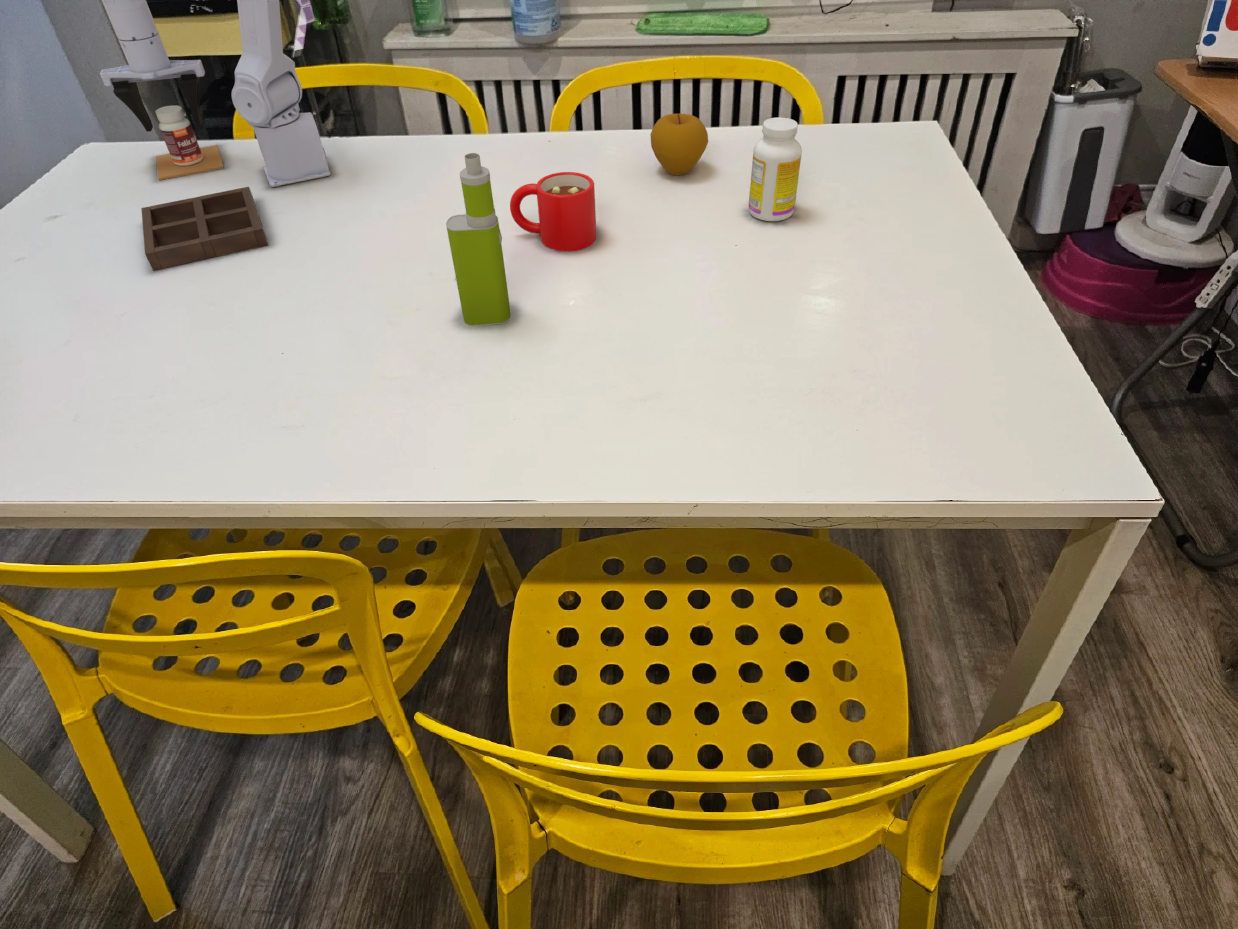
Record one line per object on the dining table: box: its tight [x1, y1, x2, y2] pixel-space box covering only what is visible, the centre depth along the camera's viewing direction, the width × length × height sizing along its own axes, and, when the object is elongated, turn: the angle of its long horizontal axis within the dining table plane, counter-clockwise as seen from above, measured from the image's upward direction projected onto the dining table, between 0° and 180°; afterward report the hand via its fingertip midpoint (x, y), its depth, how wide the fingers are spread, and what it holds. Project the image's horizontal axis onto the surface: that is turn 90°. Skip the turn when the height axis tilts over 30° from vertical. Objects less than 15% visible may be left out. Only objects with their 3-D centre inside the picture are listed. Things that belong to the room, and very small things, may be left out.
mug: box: [509, 171, 598, 252], centre depth 110 cm, size 8×12×8 cm, turn 84°
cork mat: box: [155, 144, 225, 181], centre depth 134 cm, size 10×10×1 cm
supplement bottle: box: [748, 116, 803, 222], centre depth 112 cm, size 7×7×13 cm
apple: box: [649, 113, 709, 176], centre depth 124 cm, size 9×9×9 cm
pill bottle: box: [155, 105, 203, 166], centre depth 131 cm, size 5×5×8 cm
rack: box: [140, 186, 269, 271], centre depth 114 cm, size 15×15×3 cm
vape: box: [445, 152, 512, 327], centre depth 91 cm, size 4×6×20 cm, turn 95°
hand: (175, 126), depth 130 cm, fingers open, 7 cm apart
